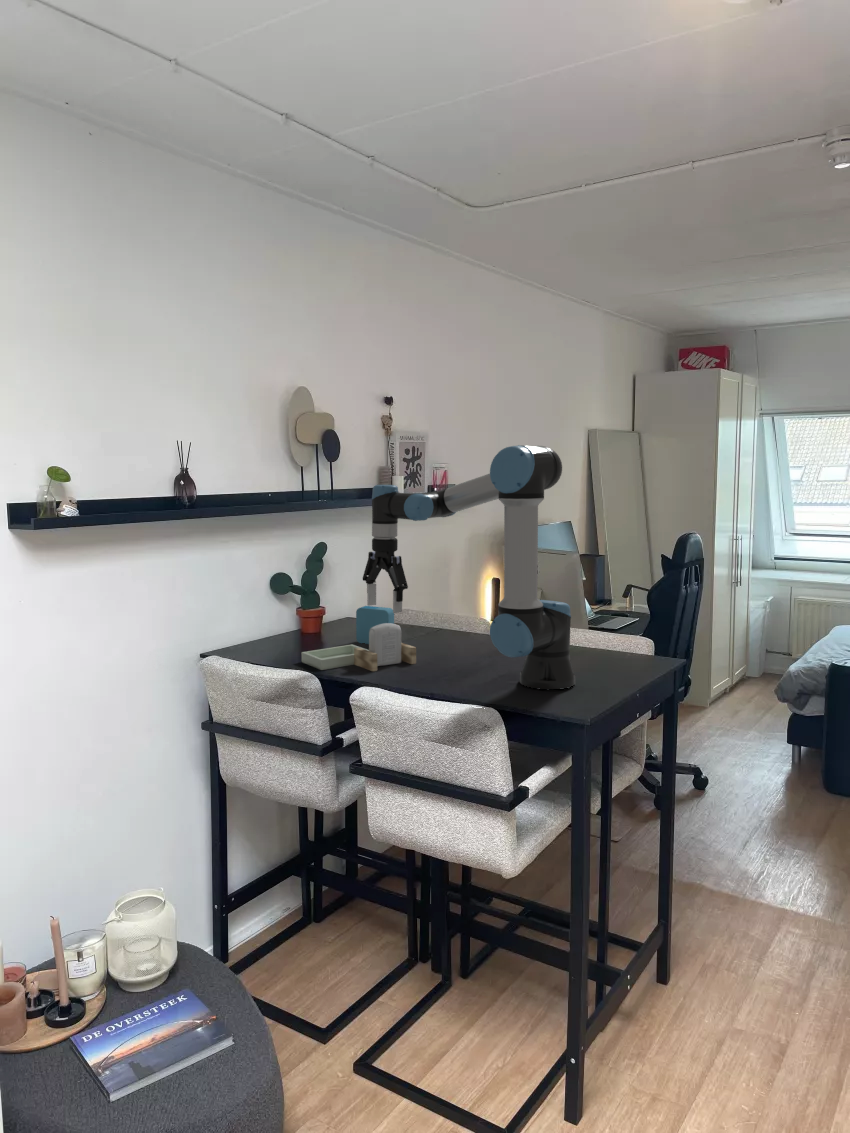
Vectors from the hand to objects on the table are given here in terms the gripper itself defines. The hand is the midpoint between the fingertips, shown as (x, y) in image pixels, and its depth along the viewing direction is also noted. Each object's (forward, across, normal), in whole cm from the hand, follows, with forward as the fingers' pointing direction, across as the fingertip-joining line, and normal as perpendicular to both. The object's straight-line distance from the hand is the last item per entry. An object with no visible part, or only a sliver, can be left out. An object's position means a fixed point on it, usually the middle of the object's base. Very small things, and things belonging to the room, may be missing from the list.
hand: (384, 608), depth 252 cm
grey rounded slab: (+17, 0, 0) cm, 17 cm away
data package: (+17, +24, -13) cm, 33 cm away
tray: (+17, +10, +10) cm, 22 cm away
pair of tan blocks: (+17, 0, 0) cm, 17 cm away
